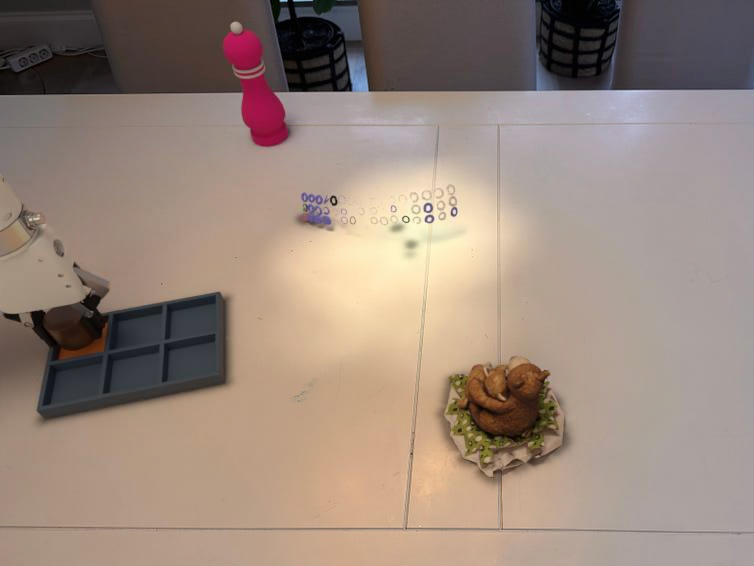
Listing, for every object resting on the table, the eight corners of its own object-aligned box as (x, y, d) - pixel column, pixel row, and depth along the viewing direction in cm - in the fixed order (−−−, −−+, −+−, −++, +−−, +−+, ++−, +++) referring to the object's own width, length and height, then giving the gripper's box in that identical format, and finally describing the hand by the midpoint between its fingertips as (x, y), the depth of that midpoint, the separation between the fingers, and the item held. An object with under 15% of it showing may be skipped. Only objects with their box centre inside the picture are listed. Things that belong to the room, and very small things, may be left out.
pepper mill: (291, 122, 121) (259, 8, 105) (291, 145, 117) (257, 30, 101) (250, 127, 121) (212, 14, 105) (249, 151, 116) (209, 36, 100)
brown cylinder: (55, 354, 87) (39, 334, 84) (61, 325, 90) (45, 305, 87) (96, 346, 87) (81, 326, 84) (100, 318, 90) (86, 298, 87)
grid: (224, 383, 86) (219, 374, 84) (45, 419, 83) (36, 410, 82) (224, 301, 95) (219, 291, 93) (62, 331, 92) (54, 321, 91)
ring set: (289, 258, 103) (266, 183, 96) (329, 228, 112) (311, 158, 105) (436, 265, 94) (422, 183, 87) (467, 231, 102) (456, 155, 96)
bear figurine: (529, 355, 87) (532, 290, 78) (580, 449, 78) (590, 389, 69) (429, 386, 85) (420, 323, 75) (470, 487, 76) (464, 430, 66)
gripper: (80, 195, 77) (146, 302, 92) (-79, 220, 75) (14, 326, 90) (72, 238, 73) (142, 344, 87) (-98, 266, 71) (3, 370, 85)
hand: (77, 334), depth 88 cm, fingers closed on brown cylinder, 5 cm apart
